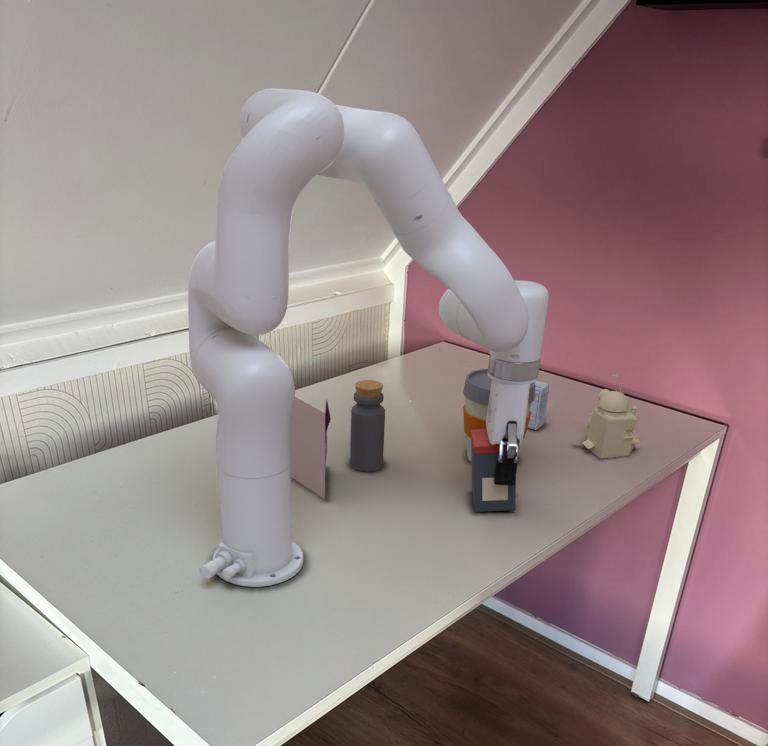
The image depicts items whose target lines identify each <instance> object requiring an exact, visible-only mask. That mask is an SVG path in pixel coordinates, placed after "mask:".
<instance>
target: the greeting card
mask: <svg viewBox="0 0 768 746" xmlns="http://www.w3.org/2000/svg"><path fill="white" fill-rule="evenodd" d="M329 407H330V406H329V402H328V399H325V411H322V410H320V409H318V408H316V407H314V406H313V405H311V404H309V403H308V402H305V401H304V400H303V399H300V398H298V397H296V396H295V399H294V406H293V412H292V418H291V428H290V466H291V479H294V480H295V481H296V482H298V483H299V484H301V485H303V487H305V488H307V489H308V490H310V491H311V492H312V493H314V494H315V495H317V496H319V497H320V498H322V499H323V500H326V481H327V480H326V474H327V473H326V471H327V469H326V467H327V458H328V457H327V456H328V435H327V433H328V429H329V426H330V422H331V419H332V417H331V413H330V408H329Z"/></svg>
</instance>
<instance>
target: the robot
mask: <svg viewBox="0 0 768 746" xmlns="http://www.w3.org/2000/svg"><path fill="white" fill-rule="evenodd" d="M610 376H612V377H615V378H617V379H616V383H619V373H616V374H610ZM620 384H621V386H618V387H619V391H618V388H616V389H615V390H610V389H607V388H604V389H601V391H599V392H598V395H597V397H598V404H597V405H596V406H594V408H593V410H592V413H589V415H590V416H591V417H590V421H586V432H587V437H586V440H585V441H584V440H583V441H582V442H581V443H580V444H578V446H581V445H582V446H581V447H582V448H584V447H585V448H586V449H587V454H589V453H590V452H591V453H592V454H593V455H595V456H596V457H598V458H599V459H609V458H618V457H628V456H630V453H632V451H633V450H634V449H635V445H637V444H641V440H640V439H639V437H637V436H636V435H635V434H634V430H635V429H636V426H637V423H638V417H637V416H636V412H637V409H638V407H637V406H636V405H635V404H634V405H631V406H630V396H628V397H627V396H626V395H625V394H624V393H623V391H622V388H623V385H624V383H623V382H621V383H620ZM629 409H630V410H629ZM631 433H632V434H631Z"/></svg>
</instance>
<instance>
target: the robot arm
mask: <svg viewBox="0 0 768 746" xmlns="http://www.w3.org/2000/svg"><path fill="white" fill-rule="evenodd" d="M238 133H239V138H240V140H241V141H240V142H239V143H238V145H237V146H236V147H235V149H234V150H233V152H232V153H231V155H230V156H229V158H228V159H227V162H226V164H225V165H224V168H223V171H222V173H221V177H220V180H219V183H218V184H219V185H218V188H217V195H216V196H217V197H216V208H215V209H216V211H215V229H214V230H215V231H214V240H213V241H211V242H209V243H207V244H205V245H204V246H203V247H202V248H201V249H200V250H199V251H198V253H197V254H196V256H195V257H194V259H193V261H192V263H191V267H190V269H189V275H188V280H187V310H188V312H187V313H188V314H187V315H188V344H189V345H188V348H189V349H188V350H189V359H190V366H191V369H192V373H193V375H194V376H195V379H196V380H197V381H198V383H199V384H200V385H201V387H202V388H203V389H204V390H206V392H207V393H208V394H209V395H210V396H211V397H212V399H213V400H214V401H215V403H216V405H217V411H218V417H217V419H218V420H217V426H216V435H215V455H216V457H215V458H216V466H217V478H218V479H217V480H218V494H219V495H218V496H219V507H220V521H221V522H220V524H221V537H222V541H221V542H219V543H217V548H216V550H215V551H214V553H213V554H212V559H211V560H209V561H207V562H206V563H205V564H203V565H201V566H200V567H199V574H200V575H201V576H202V578H204V579H205V580H210V579H211V578H212V577H214V576H216V575H217V576H218V577H220V579H222V580H223V581H226V582H227V583H230V584H233V585H237V586H240V587H249V588H263V587H268V586H275V585H277V584H281V583H283V582H286V581H287V580H289V579H291V578H293V577H294V576H296V575H297V574H298V573H299V572H300V571H301V569H302V567H303V565H304V552H303V549H302V547H300V545H299V544H298V543H296V542H295V541H293V522H292V521H293V520H292V477H291V466H290V428H291V418H292V412H293V406H294V399H295V397H296V387H295V386H296V385H295V381H294V377H293V374H292V371H291V370H290V367H289V366H288V365H287V363H286V362H285V360H284V359H283V358H282V357H281V356H280V354H279V353H278V352H276V350H274V349H272V348H271V347H270V346H268V345H267V344H266V343H265V342H263V340H260V336H261V335H265V334H269V333H270V332H272V331H274V330H275V329H276V328H278V327H279V326H280V324H281V323H282V322H283V320H284V318H285V316H286V313H287V309H288V306H289V305H288V304H289V291H290V290H289V289H290V286H289V285H290V284H289V283H290V249H291V248H290V246H291V230H292V221H293V214H294V210H295V207H296V203H297V201H298V198H299V197H300V195H301V193H302V192H303V190H305V188H306V187H307V186H308V184H309V183H310V182H311V181H312V180H313V179H314V178H315V177H317V176H320V177H321V176H322V177H326V178H333V179H339V180H346V181H350V182H353V183H357V184H360V185H363V187H364V188H365V189H366V191H367V193H368V194H369V196H370V197H371V199H372V200H373V203H374V204H375V205H376V207H377V208H378V210H379V212H380V214H381V215H382V217H383V219H384V220H385V222H386V223H387V225H388V227H389V229H390V230H391V232H392V234H393V235H394V237H395V239H396V240H397V243H398V244H399V245H400V247H401V248H402V250H403V251H404V252H405V254H407V256H408V257H409V258H410V259H411V260H412V261H414V262H415V263H416V264H417V265H418V266H419V267H421V268H422V269H423V270H424V271H426V272H428V274H430V275H432V276H433V277H435V278H436V279H437V280H438V281H440V282H441V283H442V284H443V285H445V287H447V289H446V291H444V293H443V294H442V296H441V297H440V299H439V303H438V315H439V318H440V320H441V322H442V323H443V325H444V327H446V328H447V329H448V330H449V331H451V332H452V333H454V334H456V335H458V336H460V337H462V338H464V339H466V340H467V341H471V342H473V343H475V344H477V345H479V346H481V347H483V348H485V349H487V350H489V358H488V366H487V369H488V377H489V378H491V379H492V383H491V390H490V396H489V404H488V410H487V417H486V428H487V433H488V437H489V441H490V443H491V444H492V445H495V444H499V457H498V460H496V467H495V476H494V484H495V485H511V486H512V485H514V484H515V479H516V480H517V471H518V458H519V457H518V455H519V452H518V446H520V447H521V445H523V442H524V439H523V437H524V431H525V424H526V416H527V407H528V399H529V388H530V384H531V383H534V382H536V381H539V380H538V379H539V373H540V365H541V358H542V352H543V351H542V350H543V343H544V338H545V337H544V335H545V329H546V321H547V314H548V306H549V298H550V294H549V291H548V289H547V287H546V286H545V285H543V284H542V283H539V282H536V281H530V280H516V279H514V278H513V275H512V274H511V273H510V271H509V269H508V268H507V266H506V265H505V263H504V262H503V261H502V259H501V258H500V257H499V255H498V254H496V252H495V251H494V250H493V249H492V247H490V245H489V244H488V243H487V242H486V241H485V240H484V238H483V237H482V236H481V235H480V234H479V232H477V230H476V229H475V228H474V226H473V225H472V224H470V223H469V221H468V220H467V219H466V218H465V217H464V216H463V215H462V213H461V212H460V210H459V208H458V206H457V205H456V203H455V201H454V199H453V197H452V195H451V193H450V192H449V190H448V188H447V186H446V184H445V182H444V180H443V178H442V177H441V175H440V173H439V171H438V169H437V167H436V165H435V163H434V161H433V158H432V157H431V155H430V153H429V151H428V149H427V148H426V146H425V144H424V142H423V140H422V138H421V136H420V134H419V133H418V131H417V130H416V128H415V127H414V126H413V124H412V123H411V122H410V121H409V120H407V118H405V117H403V116H401V115H399V114H396V113H393V112H388V111H382V110H381V111H379V110H371V109H363V108H358V107H357V108H356V107H350V106H345V105H339V104H335V103H334V102H333V101H331V99H329V98H328V97H326V96H324V95H322V94H320V93H317V92H314V91H311V90H303V89H287V88H280V87H279V88H277V87H272V88H264V89H262V90H259V91H257V92H255V93H253V94H252V95H251V96H249V98H247V100H246V101H245V103H244V104H243V105H242V107H241V110H240V112H239V117H238ZM502 439H507V442H503V441H502ZM503 447H507V450H505V451H504V452H503Z"/></svg>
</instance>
